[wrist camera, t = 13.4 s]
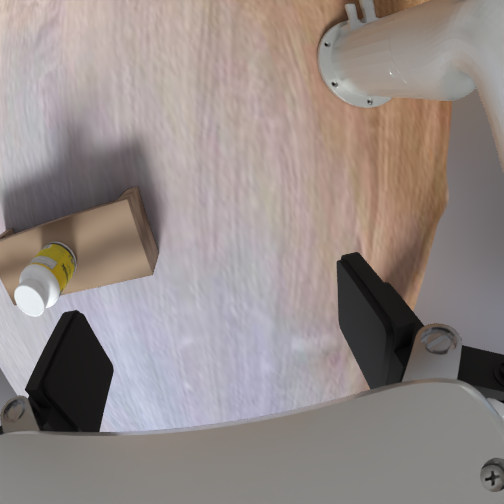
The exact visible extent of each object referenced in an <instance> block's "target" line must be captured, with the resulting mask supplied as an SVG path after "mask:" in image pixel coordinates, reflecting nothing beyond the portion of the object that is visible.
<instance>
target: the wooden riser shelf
mask: <svg viewBox="0 0 504 504" xmlns="http://www.w3.org/2000/svg"><path fill="white" fill-rule="evenodd" d="M50 242H61V243H63V244H65V245H67V246H68V247H69V248H70V249H71V250H72V251H73V253H74V255H75V258H76V263H77V265H76V270H75V272H74V274H73V276H72V278H71V279H70V281H69V282H68V284H67V285H66V287H65V289H64V290H63V292H62V293H61V295H64V294H69V293H73V292H78V291H82V290H87V289H91V288H96V287H100V286H105V285H109V284H114V283H118V282H123V281H127V280H132V279H136V278H141V277H145V276H150V275H153V273H154V269H155V266H156V262H157V259H158V255H159V252H158V249H157V246H156V243H155V240H154V237H153V234H152V231H151V228H150V225H149V222H148V218H147V215H146V212H145V209H144V205H143V202H142V199H141V195H140V192H139V188H138V186H137V187H134V188H130V189H127V190H126V191H125V192H124V193H123V194H122V195H121V196H120V198H119V199H118V200H116V201H112V202H109V203H105V204H102V205H99V206H96V207H92V208H89V209H86V210H83V211H80V212H76V213H73V214H70V215H67V216H64V217H61V218H58V219H55V220H52V221H49V222H47V223H44V224H41V225H38V226H35V227H32V228H30V229H27V230H24V231H21V232H19V233H16V234H14V231H13V229H12V228H11V229H9V230H6V231H5V232H3V233H2V234H1V235H0V278H1V281H2V283H3V285H4V286H5V288H6V290H7V292H8V294H9V296H10V298H11V300H12V302H13V304H14V305H17V304H16V301H15V298H14V293H15V289H16V288H17V287H18V285H19V279H20V275H21V273H22V271H23V270H24V268H25V267H26V266H27V265H28V264H29V263H30V262H31V261H32V259H33V258H34V257H35V256H36V255H37V254H38V253H39V252H40V250H41V249H42V248H43V247H44V246H45V245H47V244H48V243H50Z"/></svg>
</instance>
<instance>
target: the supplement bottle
mask: <svg viewBox="0 0 504 504" xmlns="http://www.w3.org/2000/svg"><path fill="white" fill-rule="evenodd" d="M76 265H77V263H76V258H75V255H74V253H73V251H72V250H71V249H70V248H69V247H68V246H67V245H65V244H63V243H61V242H50V243H48V244H47V245H45V246H44V247H43V248H42V249H41V250H40V252H39V253H38V254H37V255H36V256H35V257H34V258H33V259H32V261H31V262H30V263H29V264H28V265H27V266H26V267H25V268H24V270H23V271H22V273H21V275H20V279H19V285H18V287H17V288H16V289H15V293H14V298H15V301H16V304H17V305H18V307H19V308H20V309H21V310H22V311H23V312H24V313H26V314H27V315H30V316H39V315H41V314H42V313H43V311H44V310H45V308H47V307H50V306H52V305H53V304H55V303H56V301H57V300H58V298H59V297H60V295H61V293H62V292H63V290H64V289H65V287H66V285H67V284H68V282H69V281H70V279H71V278H72V276H73V274H74V272H75V270H76Z"/></svg>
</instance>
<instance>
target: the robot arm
mask: <svg viewBox="0 0 504 504" xmlns="http://www.w3.org/2000/svg"><path fill="white" fill-rule="evenodd" d="M358 1H359V5H360V9H361V10H362V14H363V18H362V19H361V20H358V17H357V10H356V6H355V4H346V5H345V9H346V13H347V16H348V21H344V22H341V23H338V24H336V25H335V26H333V27H332V28H330V29H329V30H328V31H327V32H326V33H325V34H324V36H323V37H322V39H321V41H320V43H319V47H318V51H317V63H318V68H319V72H320V74H321V77H322V79H323V81H324V82H325V84H326V86H327V87H328V88H329V89H330V91H331V92H332V93H333V94H334V95H336V96H337V97H338V98H339V99H341V100H342V101H344V102H346V103H348V104H351V105H353V106H358V107H367V108H370V107H377V106H380V105H382V104H384V103H386V102H388V101H389V100H390V99H391V98H392V97H400V98H416V99H428V100H440V101H452V100H457V99H460V98H462V97H464V96H466V95H468V94H469V93H471V91H473V90H474V89H475V88H477V91H478V93H479V96H480V99H481V101H482V104H483V106H484V108H485V111H486V113H487V117H488V120H489V123H490V126H491V130H492V133H493V137H494V140H495V144H496V148H497V152H498V155H499V159H500V163H501V167H502V170H503V174H504V0H430V1H427V2H424V3H422V4H419V5H416V6H413V7H410V8H407V9H404V10H402V11H399V12H396V13H393V14H390V15H388V16H385V17H382V18H380V19H379V18H377V17H376V13H375V7H374V3H373V0H358ZM324 44H327V47H326V46H325V45H324ZM332 83H334V86H332ZM367 100H368V101H369V102H368V103H367ZM337 282H338V313H339V325H340V329H341V331H342V333H343V335H344V337H345V339H346V341H347V343H348V345H349V347H350V349H351V351H352V353H353V355H354V357H355V359H356V361H357V363H358V365H359V367H360V369H361V371H362V373H363V375H364V377H365V379H366V381H367V383H368V385H369V387H370V389H371V390H368V391H364V392H360V393H357V394H353V395H350V396H346V397H342V398H339V399H335V400H331V401H327V402H323V403H319V404H315V405H311V406H307V407H302V408H298V409H294V410H289V411H285V412H280V413H275V414H270V415H265V416H260V417H255V418H249V419H243V420H237V421H231V422H224V423H217V424H210V425H202V426H194V427H185V428H175V429H163V430H149V431H130V432H99V431H100V426H101V421H102V417H103V413H104V408H105V404H106V400H107V396H108V392H109V388H110V384H111V380H112V376H113V371H114V370H113V365H112V363H111V361H110V359H109V358H108V356H107V354H106V353H105V351H104V349H103V348H102V346H101V344H100V343H99V341H98V339H97V337H96V336H95V334H94V332H93V330H92V329H91V327H90V325H89V323H88V321H87V319H86V317H85V316H84V314H82V313H80V312H79V311H77V310H75V311H69V312H64V313H63V314H62V316H61V318H60V320H59V321H58V323H57V325H56V327H55V329H54V331H53V333H52V334H51V336H50V338H49V340H48V342H47V344H46V346H45V348H44V350H43V352H42V354H41V356H40V358H39V360H38V362H37V364H36V366H35V368H34V371H33V373H32V375H31V377H30V379H29V381H28V384H27V386H26V388H25V391H26V392H27V393H28V394H29V397H28V399H27V398H26V397H25V396H21V395H19V396H15V397H13V398H11V399H10V400H9V401H7V403H6V404H5V405H4V406H3V408H2V411H1V414H0V420H1V424H2V425H1V426H0V504H504V355H502V354H498V353H493V352H489V351H485V350H480V349H476V348H472V347H467V346H463V345H462V338H461V336H460V334H459V333H458V332H457V331H456V330H455V329H454V328H452V327H450V326H448V325H445V324H438V323H434V324H428V325H426V326H424V325H423V324H422V323H421V321H420V320H419V319H418V318H417V316H416V315H415V314H414V312H413V311H412V310H411V309H410V307H409V306H408V305H407V304H406V303H405V301H404V300H403V299H402V298H401V296H400V295H399V294H398V293H397V292H396V290H395V289H394V288H393V287H392V286H391V285H390V284H389V283H387V282H385V283H384V282H383V281H382V280H381V279H380V277H379V276H378V275H377V274H376V273H375V271H374V270H373V269H372V268H371V267H370V265H369V264H368V263H367V262H366V261H365V260H364V258H363V257H362V256H361V255H360V254H359V253H358V252H355V253H350V254H346V255H342V257H341V260H338V261H337Z"/></svg>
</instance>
